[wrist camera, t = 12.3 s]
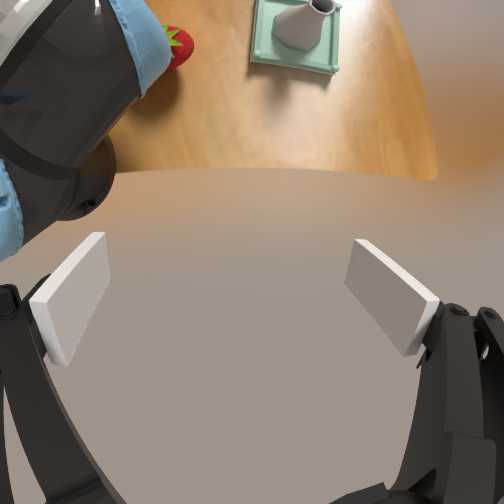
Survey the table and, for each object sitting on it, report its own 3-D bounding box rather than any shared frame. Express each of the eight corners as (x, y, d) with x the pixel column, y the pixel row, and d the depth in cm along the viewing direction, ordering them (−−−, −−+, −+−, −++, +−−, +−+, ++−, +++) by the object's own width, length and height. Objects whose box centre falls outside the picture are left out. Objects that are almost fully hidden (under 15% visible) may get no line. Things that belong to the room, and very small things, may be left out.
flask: (262, 35, 31) (279, 8, 21) (285, 1, 28) (306, -30, 19) (308, 60, 33) (338, 41, 24) (329, 25, 31) (361, 2, 21)
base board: (249, 61, 33) (252, 57, 30) (256, -7, 28) (259, -14, 26) (332, 75, 35) (339, 72, 32) (335, 10, 30) (342, 4, 28)
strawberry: (143, 42, 29) (124, 18, 20) (197, 39, 31) (194, 12, 21) (139, 80, 32) (118, 64, 23) (194, 77, 33) (190, 59, 24)
